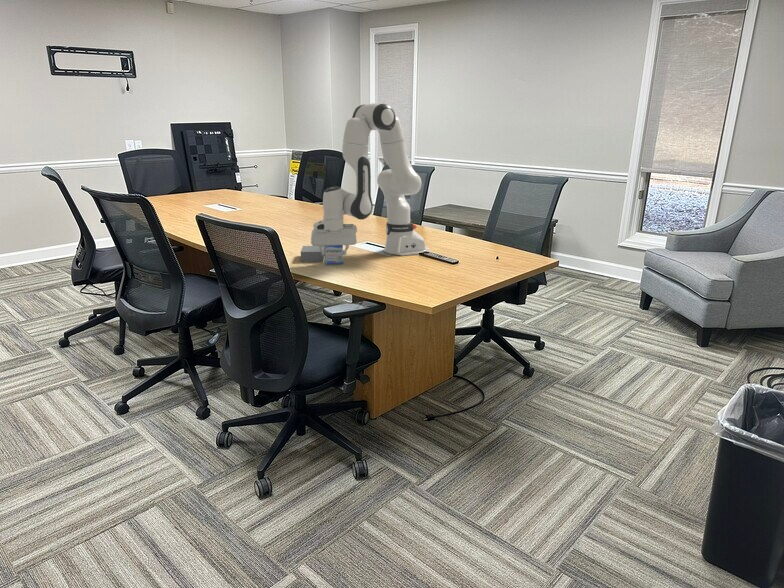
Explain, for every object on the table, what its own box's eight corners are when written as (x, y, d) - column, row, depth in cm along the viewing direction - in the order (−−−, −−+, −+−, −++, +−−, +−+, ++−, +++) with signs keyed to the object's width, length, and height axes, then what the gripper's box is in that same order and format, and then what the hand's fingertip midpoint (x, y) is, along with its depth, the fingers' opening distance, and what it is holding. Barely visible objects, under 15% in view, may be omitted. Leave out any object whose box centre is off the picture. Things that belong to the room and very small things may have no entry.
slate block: (324, 255, 260) (324, 245, 258) (323, 262, 248) (322, 251, 247) (303, 256, 259) (303, 245, 257) (301, 262, 248) (300, 251, 246)
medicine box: (325, 265, 243) (325, 246, 240) (324, 262, 247) (323, 243, 244) (343, 264, 245) (342, 245, 242) (341, 261, 249) (341, 242, 246)
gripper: (355, 222, 245) (355, 252, 250) (309, 223, 241) (310, 254, 246) (357, 225, 240) (358, 255, 244) (310, 226, 235) (311, 257, 240)
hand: (334, 254), depth 245 cm, fingers open, 8 cm apart
